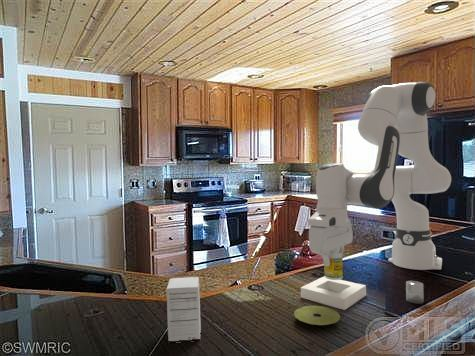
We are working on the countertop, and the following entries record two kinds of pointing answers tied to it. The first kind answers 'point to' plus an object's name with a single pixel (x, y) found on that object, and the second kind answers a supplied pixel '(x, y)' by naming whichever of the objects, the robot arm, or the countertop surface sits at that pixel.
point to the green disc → (317, 315)
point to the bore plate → (341, 300)
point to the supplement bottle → (334, 265)
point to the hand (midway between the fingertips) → (333, 262)
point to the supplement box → (183, 309)
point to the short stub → (414, 292)
